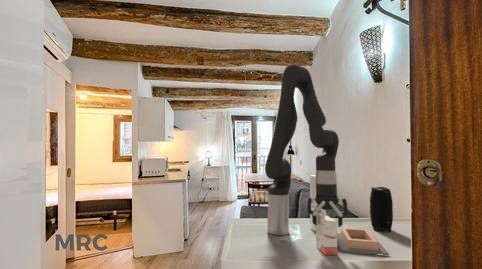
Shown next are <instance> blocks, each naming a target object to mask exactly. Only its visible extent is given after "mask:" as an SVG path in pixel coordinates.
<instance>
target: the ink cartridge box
mask: <svg viewBox="0 0 482 269" xmlns="http://www.w3.org/2000/svg"><path fill="white" fill-rule="evenodd" d="M319 213H321V214H322V216H321V215H319ZM316 218H317V226H316V231H315V247H316V248H317V249H318V250H320V252H321V253H322V254H323V255H324V256H337V255H338V244H337V233H338V221H336V220H335V219H333V218H332V217H330V216H329V215H326V216H325V213H324V212H322V211H321V210H320V211H319V212H318V213H317V214H316Z"/></svg>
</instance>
